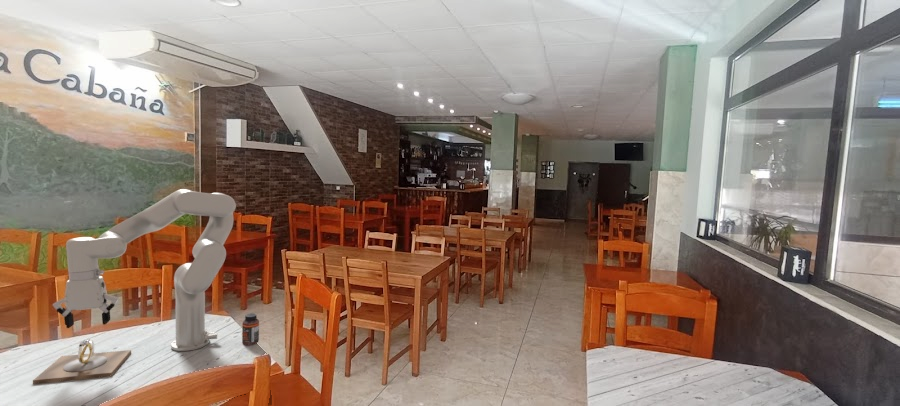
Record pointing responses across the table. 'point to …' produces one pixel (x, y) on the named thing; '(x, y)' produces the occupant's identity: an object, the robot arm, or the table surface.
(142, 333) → the table surface
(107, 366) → the walnut board
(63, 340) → the table surface
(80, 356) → the bracelet
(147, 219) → the robot arm
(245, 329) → the supplement bottle
